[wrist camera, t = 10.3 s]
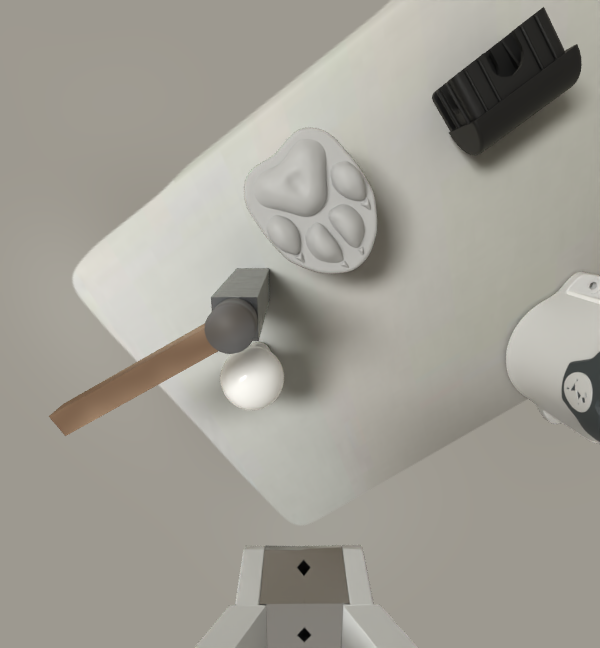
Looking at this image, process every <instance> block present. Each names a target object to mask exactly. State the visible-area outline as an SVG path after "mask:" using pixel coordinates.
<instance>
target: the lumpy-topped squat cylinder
mask: <svg viewBox="0 0 600 648" xmlns="http://www.w3.org/2000/svg"><path fill="white" fill-rule="evenodd" d="M244 198H245V203H246V206H247V208H248V210H249V212H250V214H251V216H252V217H253V219H254V220H255V222H256V223H257V225H258V226H259V228H260V229H261V231H262V232H263V234H264V235H265V236H266V237H267V239H268V240H269V241H270V242H271V243H272V244H273V246H274V247H275V248H276V249H277V250H278V251H279V252H280V253H281V254H282V255H283V256H284V257H285V258H286V259H287V260H289V261H290V262H292V263H294V264H296V265H299V266H301V267H303V268H306V269H309V270H312V271H315V272H319V273H326V274H337V273H345V272H349V271H352V270H354V269H356V268H357V267H359V266H360V265H361V264H362V263H363V262H364V261H365V260H366V259H367V257H368V256H369V254H370V252H371V250H372V247H373V245H374V241H375V238H376V233H377V211H376V202H375V196H374V193H373V190H372V188H371V186H370V184H369V182H368V181H367V179H366V177H365V175H364V174H363V172H362V171H361V169H360V168H359V166H358V165H357V163H356V162H355V161H354V159H353V158H352V157H351V156H350V155H349V153H348V152H347V151H346V150H345V149H344V148H343V147H342V145H341V144H340V143H339V142H338V141H337V140H336V139H335V138H334V137H333V136H332V135H330V134H329V133H327V132H326V131H324V130H321V129H317V128H302V129H299V130H297V131H296V132H294V133H293V134H292V135H291V136H290V137H289V138H288V139H287V140H286V141H285V142H284V144H283V145H282V146H281V147H280V149H279V150H278V151H277V152H276V153H275V154H274V155H272V156H271V157H270V158H268V159H267V160H265V161H263V162H262V163H260V164H258V165H257V166H255V167H254V168H253V169H252V170H251V171H250V172H249V174H248V175H247V177H246V180H245V184H244Z"/></svg>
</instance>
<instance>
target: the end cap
mask: <svg viewBox="0 0 600 648" xmlns="http://www.w3.org/2000/svg"><path fill="white" fill-rule="evenodd" d="M580 72H581V55H580V50H579V48H578V45H577V44H576V45H574V46H573V47H571V48H569V49H567V50H566V51H564V48H563V46H562V44H561V42H560V40H559V38H558V36H557V34H556V32H555V29H554V27H553V25H552V23H551V21H550V19H549V17H548V15H547V13H546V11H545V8H544V7H543V8H542V9H540V10H539V11H538V12H537V13H535V14H534V15H533V16H531V17H530V18H529V19H527V20H526V21H525V22H524V23H522V24H521V25H520V26H518V27H517V28H516V29H515V30H513V31H512V32H511V33H510V34H509V35H507V36H506V37H505V38H504V39H502V40H501V41H500V42H498V43H497V44H496V45H494V46H493V47H492V48H491V49H489V50H488V51H487V52H486V53H484V54H482V55H481V56H480V57H479V58H477V59H476V60H475V61H473V62H472V63H471V64H470V65H468V66H467V67H466V68H464V69H463V70H462V71H461V72H459V73H458V74H457V75H455V76H454V77H453V78H452V79H450V80H449V81H448V82H447V83H445V84H444V85H443V86H442V87H440V88H439V89H438V90H436V91H435V92H434V94H433V96H432V99H433V102H434V104H435V105H436V107H437V109H438V111H439V112H440V114H441V116H442V118H443V119H444V121H445V123H446V124H447V126H448V128H449V130H450V131H451V132H449V134H450V135H451V137H452V138H453V140H454V141H455V142H456V143H457V144H458V146H459V147H460V148H462V149H463V150H464V151H465V152H467V153H469V154H472V155H478V154H480V153H482V152H483V151H484V150H486V149H487V148H488V147H490V146H491V145H493V144H494V143H495V142H497V141H498V140H499V139H501V138H502V137H504V136H505V135H506V134H508V133H509V132H510V131H512V130H513V129H514V128H516V127H517V126H519V125H520V124H521V123H523V122H524V121H525V120H527V119H528V118H529V117H531V116H532V115H534V114H535V113H536V112H538V111H539V110H540V109H542V108H543V107H545V106H546V105H547V104H549V103H550V102H551V101H553V100H554V99H555V98H557V97H558V96H560V95H561V94H562V93H564V92H565V91H566V90H568V89H569V88H570V87H572V86H573V85H574V84H575V83H576V81H577V79H578V78H579V75H580Z"/></svg>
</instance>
